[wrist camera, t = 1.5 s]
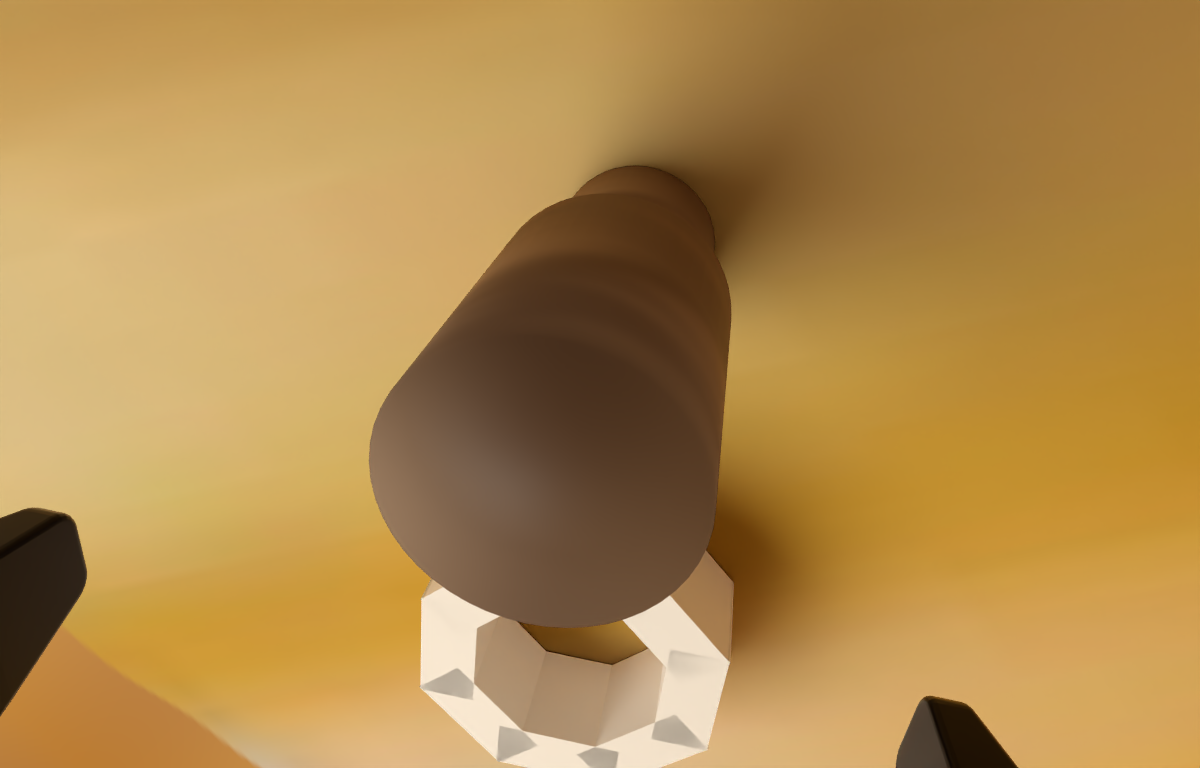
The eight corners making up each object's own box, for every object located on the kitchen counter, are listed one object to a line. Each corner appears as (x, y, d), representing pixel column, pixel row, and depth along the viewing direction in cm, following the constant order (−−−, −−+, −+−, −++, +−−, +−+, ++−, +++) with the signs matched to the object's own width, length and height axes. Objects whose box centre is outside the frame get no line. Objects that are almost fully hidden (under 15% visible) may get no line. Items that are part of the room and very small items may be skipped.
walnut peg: (755, 160, 18) (748, 370, 10) (717, 349, 21) (684, 656, 12) (547, 128, 19) (364, 303, 10) (532, 316, 21) (372, 591, 12)
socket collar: (750, 515, 23) (749, 591, 20) (700, 719, 27) (693, 805, 24) (459, 459, 24) (421, 526, 21) (451, 666, 28) (419, 744, 25)
